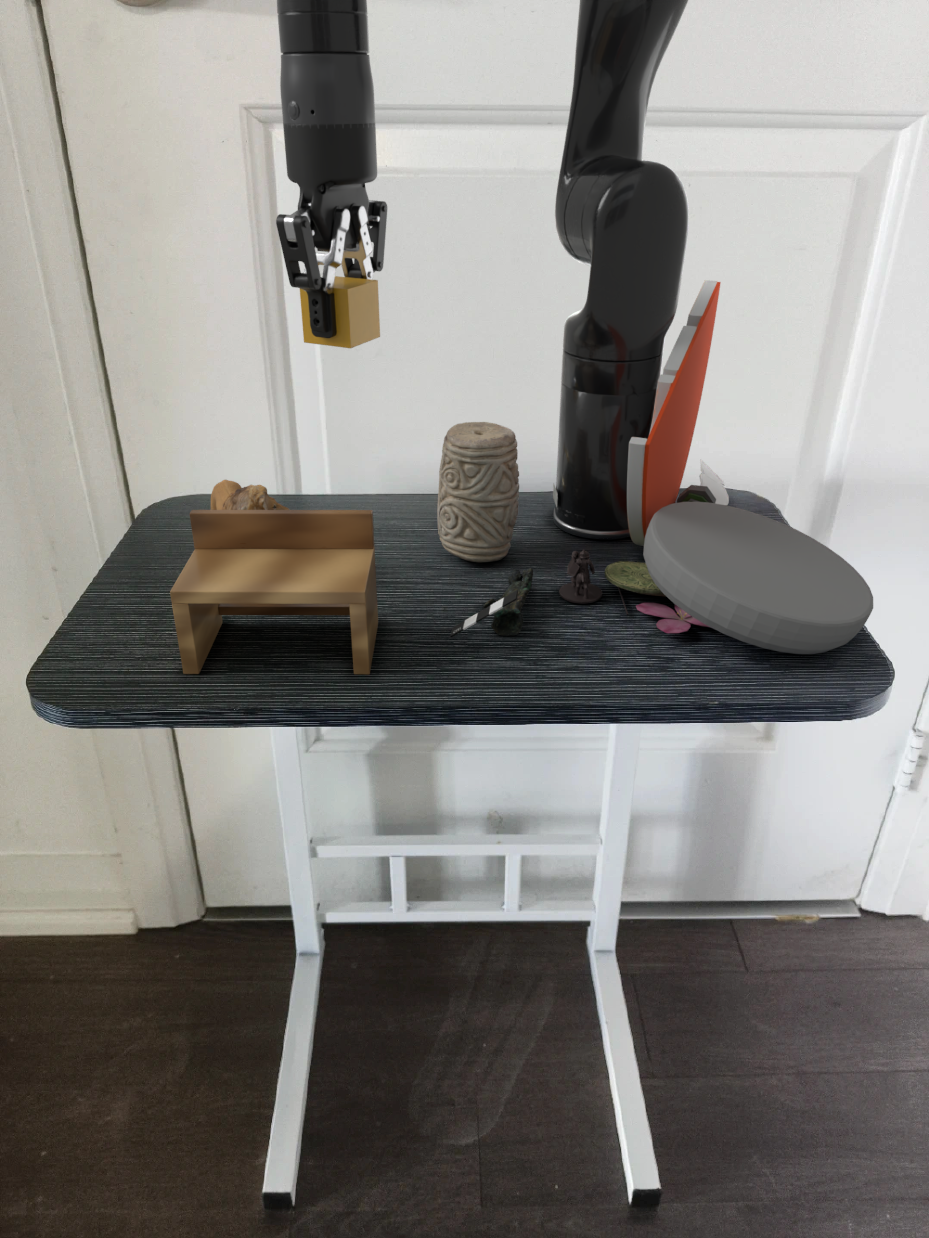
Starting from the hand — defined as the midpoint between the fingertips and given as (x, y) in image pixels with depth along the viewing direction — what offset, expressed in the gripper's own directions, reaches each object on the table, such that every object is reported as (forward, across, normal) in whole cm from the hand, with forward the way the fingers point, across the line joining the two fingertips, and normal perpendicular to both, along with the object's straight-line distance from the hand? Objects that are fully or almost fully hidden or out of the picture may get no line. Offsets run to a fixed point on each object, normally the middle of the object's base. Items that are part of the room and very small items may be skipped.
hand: (342, 329), depth 87 cm
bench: (+19, -22, -8) cm, 31 cm away
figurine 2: (+19, -3, -26) cm, 33 cm away
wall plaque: (+6, +27, -27) cm, 38 cm away
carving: (+19, 0, -14) cm, 24 cm away
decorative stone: (+13, -2, -40) cm, 42 cm away
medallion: (+19, 0, -30) cm, 36 cm away
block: (+1, 0, 0) cm, 1 cm away
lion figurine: (+20, -11, +5) cm, 23 cm away
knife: (+19, +18, -33) cm, 42 cm away
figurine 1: (+20, -11, -20) cm, 30 cm away
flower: (+19, -5, -35) cm, 40 cm away
